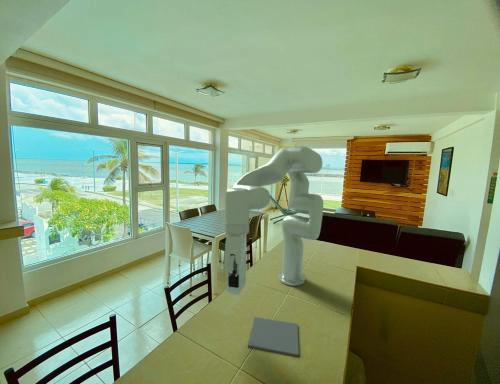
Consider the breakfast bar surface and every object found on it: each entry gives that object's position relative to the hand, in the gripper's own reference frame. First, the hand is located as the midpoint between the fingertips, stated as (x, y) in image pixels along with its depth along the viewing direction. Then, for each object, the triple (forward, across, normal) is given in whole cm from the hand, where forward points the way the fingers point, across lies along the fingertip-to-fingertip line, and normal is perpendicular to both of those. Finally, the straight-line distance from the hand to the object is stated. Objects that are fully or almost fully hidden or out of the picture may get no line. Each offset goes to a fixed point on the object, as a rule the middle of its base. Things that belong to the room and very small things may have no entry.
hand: (236, 280), depth 68 cm
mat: (+17, 0, +13) cm, 22 cm away
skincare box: (+3, 0, 0) cm, 3 cm away
